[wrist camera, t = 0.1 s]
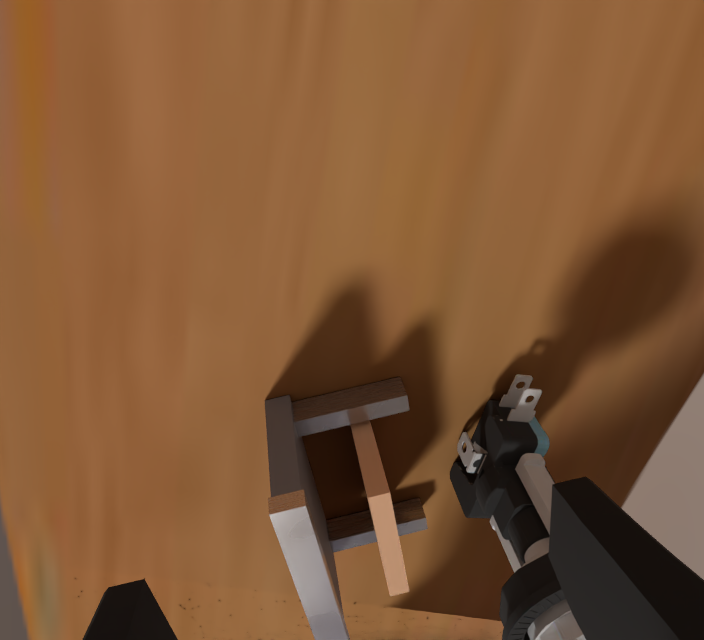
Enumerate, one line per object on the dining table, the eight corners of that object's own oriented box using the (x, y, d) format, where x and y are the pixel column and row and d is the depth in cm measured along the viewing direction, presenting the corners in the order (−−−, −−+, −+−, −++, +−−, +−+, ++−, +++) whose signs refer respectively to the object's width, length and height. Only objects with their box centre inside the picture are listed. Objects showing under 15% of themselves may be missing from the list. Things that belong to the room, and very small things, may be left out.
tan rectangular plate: (386, 504, 29) (409, 591, 25) (369, 508, 28) (390, 596, 25) (366, 409, 25) (390, 492, 21) (347, 413, 25) (367, 497, 21)
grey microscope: (463, 361, 25) (577, 576, 17) (576, 373, 26) (735, 577, 18) (417, 478, 28) (494, 707, 20) (520, 483, 30) (632, 700, 21)
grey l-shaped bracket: (421, 514, 30) (457, 625, 25) (308, 542, 29) (322, 660, 25) (399, 368, 25) (438, 473, 20) (262, 401, 24) (269, 514, 20)
